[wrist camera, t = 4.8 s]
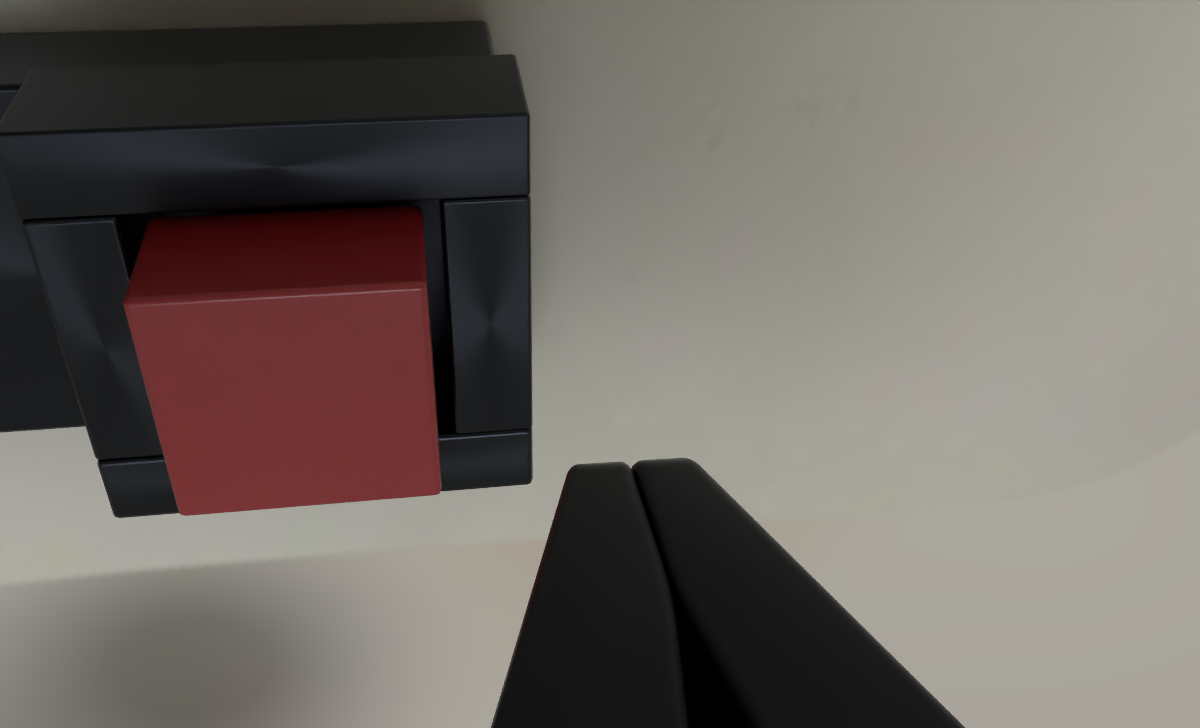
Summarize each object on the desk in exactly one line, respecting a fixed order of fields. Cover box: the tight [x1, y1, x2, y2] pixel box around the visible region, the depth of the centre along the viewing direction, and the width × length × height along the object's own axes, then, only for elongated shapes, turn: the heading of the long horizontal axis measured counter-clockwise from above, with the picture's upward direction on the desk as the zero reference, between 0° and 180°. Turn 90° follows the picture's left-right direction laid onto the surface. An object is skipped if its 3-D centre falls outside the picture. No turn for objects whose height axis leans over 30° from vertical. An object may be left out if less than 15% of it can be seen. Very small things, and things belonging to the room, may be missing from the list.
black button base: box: [0, 21, 533, 518], centre depth 17 cm, size 13×6×4 cm, turn 88°
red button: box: [123, 205, 442, 516], centre depth 16 cm, size 4×4×2 cm
